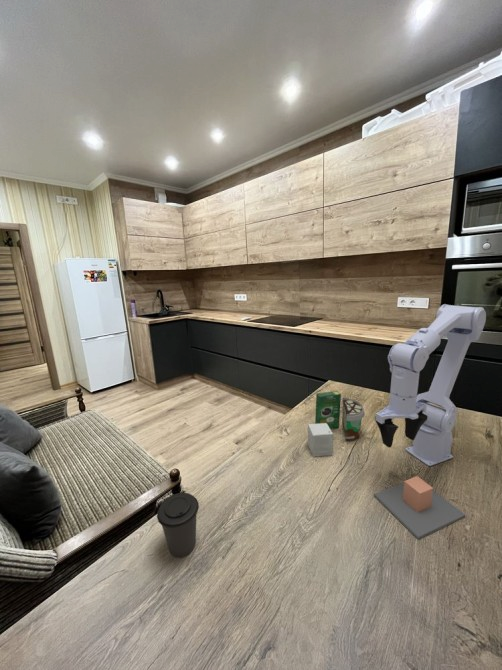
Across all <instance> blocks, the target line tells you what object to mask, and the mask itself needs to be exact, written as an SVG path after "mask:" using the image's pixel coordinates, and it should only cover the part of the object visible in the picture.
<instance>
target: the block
mask: <svg viewBox="0 0 502 670" xmlns="http://www.w3.org/2000/svg"><path fill="white" fill-rule="evenodd" d="M403 483H404V490H403V500H404V501H405V502H406V503H408V504H409V505H410V506H411V507H412V508H413V509H414V510H416V511H417V512H420V511H422V510H424V509H427V508H429V507H431V501H432V493H433V490H434V488H433V487H432V486H431V485H430V484H429V483H428V482H426V481H425V480H423V479H422V478H420V477H419V476H418V475H417V476H414V477H411V478H409V479H407V480H404V481H403Z"/></svg>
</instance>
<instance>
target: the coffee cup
mask: <svg viewBox="0 0 502 670" xmlns="http://www.w3.org/2000/svg"><path fill="white" fill-rule="evenodd" d="M199 509H200V506H199V501H198V499H197V498H196V497H195V496H194V495H193V494H190V493H188V492H179V493H175V494H172V495H170V496H169V497H167V498H165V499H164V500H163V501H162V503H161V504H160V506H159V508H158V509H157V513H156V518H157V521H158V523H159V524H160V525H161V527H162V530H163V533H164V537H165V541H166V544H167V547H168V550H169V553H170V555H171V556H172V557H174V558H179V559H181V558H184V557H185V558H186V557H187V556H188V555H190V554H191V553H193V550H194V549H195V546H196V543H197V542H196V541H197V538H196V537H197V514H198V511H199Z"/></svg>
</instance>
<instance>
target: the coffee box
mask: <svg viewBox="0 0 502 670" xmlns="http://www.w3.org/2000/svg"><path fill="white" fill-rule="evenodd" d="M341 398H342V393H340V392H339V391H337V390H335V391H326V392H318V393H316V399H315V417H314V418H315V421H314V422H315V423H314V424H321V423H327V425H328V426H329V428H330V430H336V429H339V428H340V418H341V417H340V416H341V415H340V413H341V400H342V399H341Z"/></svg>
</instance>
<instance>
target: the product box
mask: <svg viewBox="0 0 502 670" xmlns="http://www.w3.org/2000/svg"><path fill="white" fill-rule="evenodd" d="M307 446H308V448H309V450H310V452H311V453H310V454H311V455H312V457H325V456H333V449H334V433H333V432H332V429H330V428H329V426H328V425H327V423H321V424H315V423H308V424H307Z"/></svg>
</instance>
